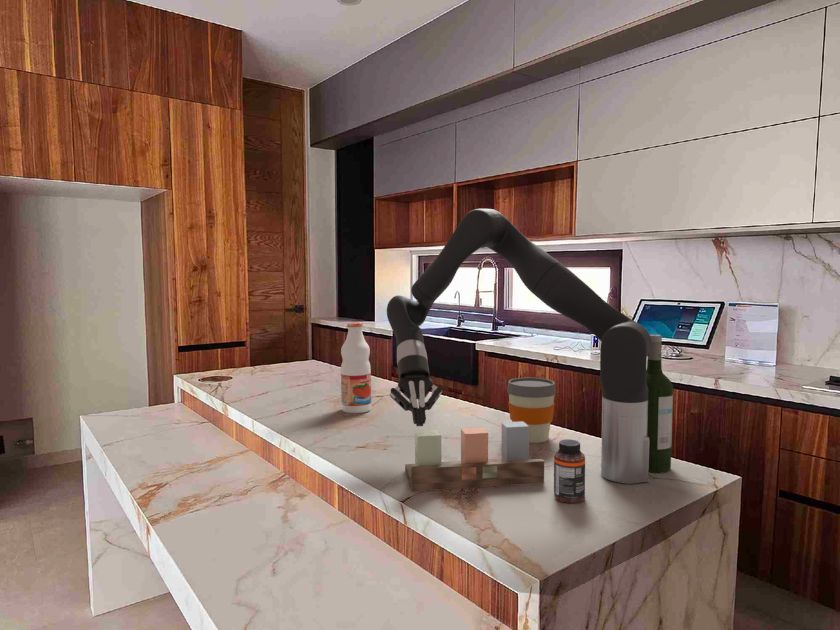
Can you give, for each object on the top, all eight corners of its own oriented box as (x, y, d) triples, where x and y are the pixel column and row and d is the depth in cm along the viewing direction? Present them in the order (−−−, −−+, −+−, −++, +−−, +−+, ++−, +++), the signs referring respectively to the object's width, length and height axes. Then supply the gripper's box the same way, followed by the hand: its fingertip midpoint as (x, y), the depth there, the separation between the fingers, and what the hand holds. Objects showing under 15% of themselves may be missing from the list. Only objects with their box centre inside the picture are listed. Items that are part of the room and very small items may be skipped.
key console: (525, 463, 133) (525, 443, 132) (544, 483, 121) (544, 461, 120) (405, 470, 129) (405, 450, 128) (412, 491, 117) (412, 469, 116)
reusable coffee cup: (555, 446, 145) (556, 387, 144) (505, 443, 148) (506, 386, 146) (554, 432, 157) (555, 378, 156) (508, 429, 160) (508, 376, 159)
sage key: (438, 470, 124) (437, 429, 123) (441, 477, 120) (441, 435, 119) (415, 471, 123) (414, 430, 122) (417, 478, 119) (417, 436, 118)
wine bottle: (639, 459, 135) (642, 332, 132) (675, 466, 130) (679, 334, 127) (627, 468, 129) (630, 335, 126) (664, 476, 124) (668, 338, 121)
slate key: (522, 460, 130) (523, 421, 129) (528, 466, 126) (529, 426, 125) (501, 461, 129) (501, 422, 128) (506, 467, 125) (506, 427, 124)
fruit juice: (353, 405, 190) (351, 321, 187) (377, 408, 185) (375, 322, 183) (335, 411, 182) (333, 323, 179) (360, 415, 177) (358, 325, 175)
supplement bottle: (561, 489, 117) (562, 435, 116) (589, 497, 113) (590, 441, 112) (548, 499, 112) (548, 442, 112) (577, 507, 109) (577, 448, 108)
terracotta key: (483, 467, 125) (483, 427, 124) (488, 474, 121) (488, 432, 120) (460, 469, 125) (460, 428, 124) (465, 475, 121) (464, 434, 120)
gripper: (386, 354, 138) (392, 417, 127) (440, 352, 140) (451, 414, 129) (385, 372, 144) (390, 434, 133) (437, 370, 146) (446, 431, 135)
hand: (420, 424), depth 131 cm, fingers closed
